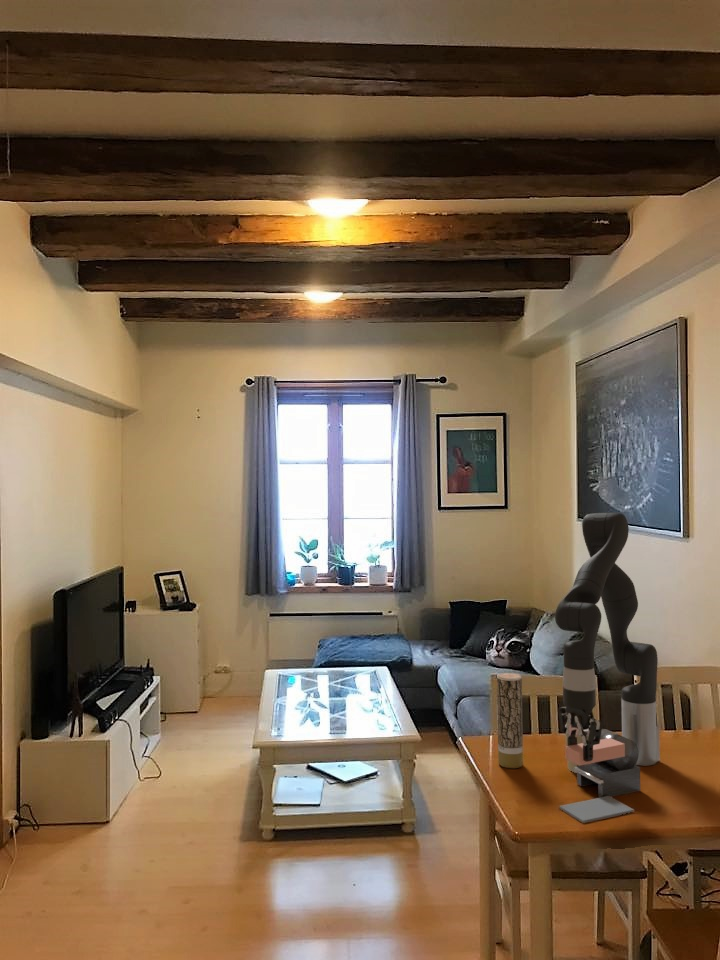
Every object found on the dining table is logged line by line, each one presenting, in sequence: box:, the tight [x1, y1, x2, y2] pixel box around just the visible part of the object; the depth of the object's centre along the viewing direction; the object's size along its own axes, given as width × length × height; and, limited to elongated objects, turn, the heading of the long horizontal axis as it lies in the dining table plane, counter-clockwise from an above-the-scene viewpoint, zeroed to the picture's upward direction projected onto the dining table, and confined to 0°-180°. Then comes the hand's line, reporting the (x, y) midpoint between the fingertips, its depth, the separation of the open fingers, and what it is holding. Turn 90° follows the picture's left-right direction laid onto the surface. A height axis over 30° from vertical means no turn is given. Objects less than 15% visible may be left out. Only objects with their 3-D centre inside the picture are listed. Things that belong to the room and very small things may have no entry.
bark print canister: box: [496, 672, 524, 769], centre depth 218 cm, size 7×7×25 cm
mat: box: [558, 796, 635, 824], centre depth 187 cm, size 15×9×1 cm, turn 112°
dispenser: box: [574, 728, 641, 798], centre depth 201 cm, size 13×10×14 cm
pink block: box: [564, 738, 625, 766], centre depth 187 cm, size 14×5×3 cm, turn 115°
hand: (580, 756), depth 185 cm, fingers closed on pink block, 5 cm apart
